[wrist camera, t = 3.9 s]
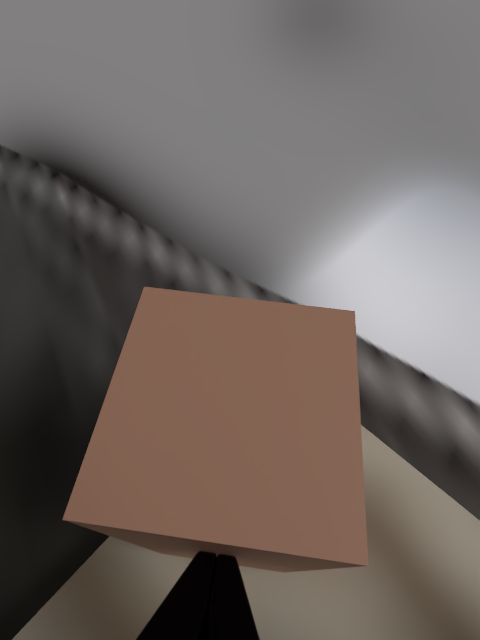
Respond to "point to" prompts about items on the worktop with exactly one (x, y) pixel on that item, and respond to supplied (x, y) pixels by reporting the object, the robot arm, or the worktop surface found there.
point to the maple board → (308, 576)
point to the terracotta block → (231, 435)
